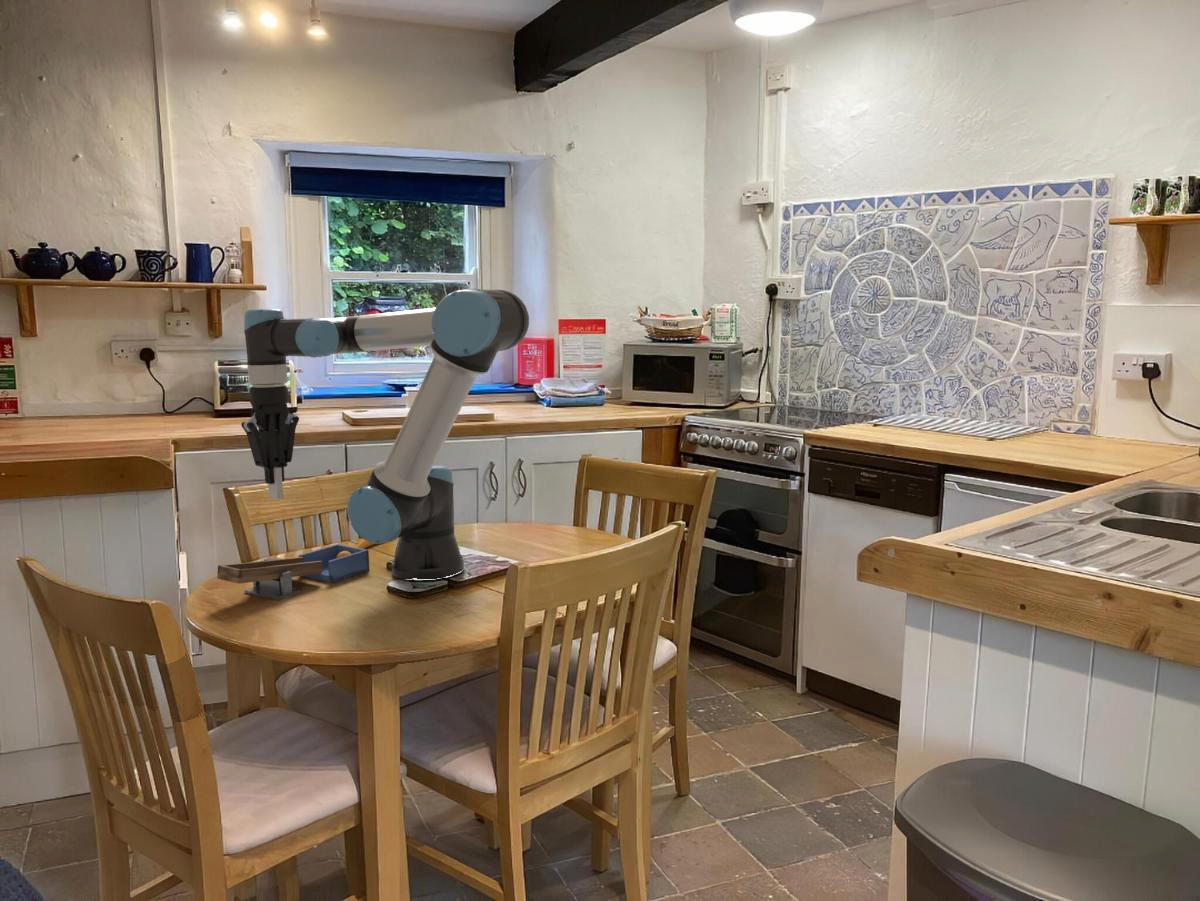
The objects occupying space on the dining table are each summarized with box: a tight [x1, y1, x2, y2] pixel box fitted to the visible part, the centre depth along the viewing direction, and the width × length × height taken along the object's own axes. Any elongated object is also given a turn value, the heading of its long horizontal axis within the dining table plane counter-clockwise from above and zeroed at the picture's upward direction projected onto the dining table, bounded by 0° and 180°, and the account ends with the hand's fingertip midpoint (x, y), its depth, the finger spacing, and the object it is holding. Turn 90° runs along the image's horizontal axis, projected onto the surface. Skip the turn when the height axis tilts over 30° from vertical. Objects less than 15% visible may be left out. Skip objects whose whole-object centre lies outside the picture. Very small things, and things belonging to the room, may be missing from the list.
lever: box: [216, 556, 323, 584], centre depth 189 cm, size 14×20×2 cm
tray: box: [298, 543, 370, 584], centre depth 201 cm, size 10×11×4 cm
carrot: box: [354, 538, 376, 549], centre depth 225 cm, size 20×4×4 cm, turn 164°
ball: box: [336, 551, 351, 559], centre depth 204 cm, size 4×4×4 cm
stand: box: [243, 571, 302, 602], centre depth 188 cm, size 10×6×5 cm, turn 57°
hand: (276, 498), depth 197 cm, fingers closed
